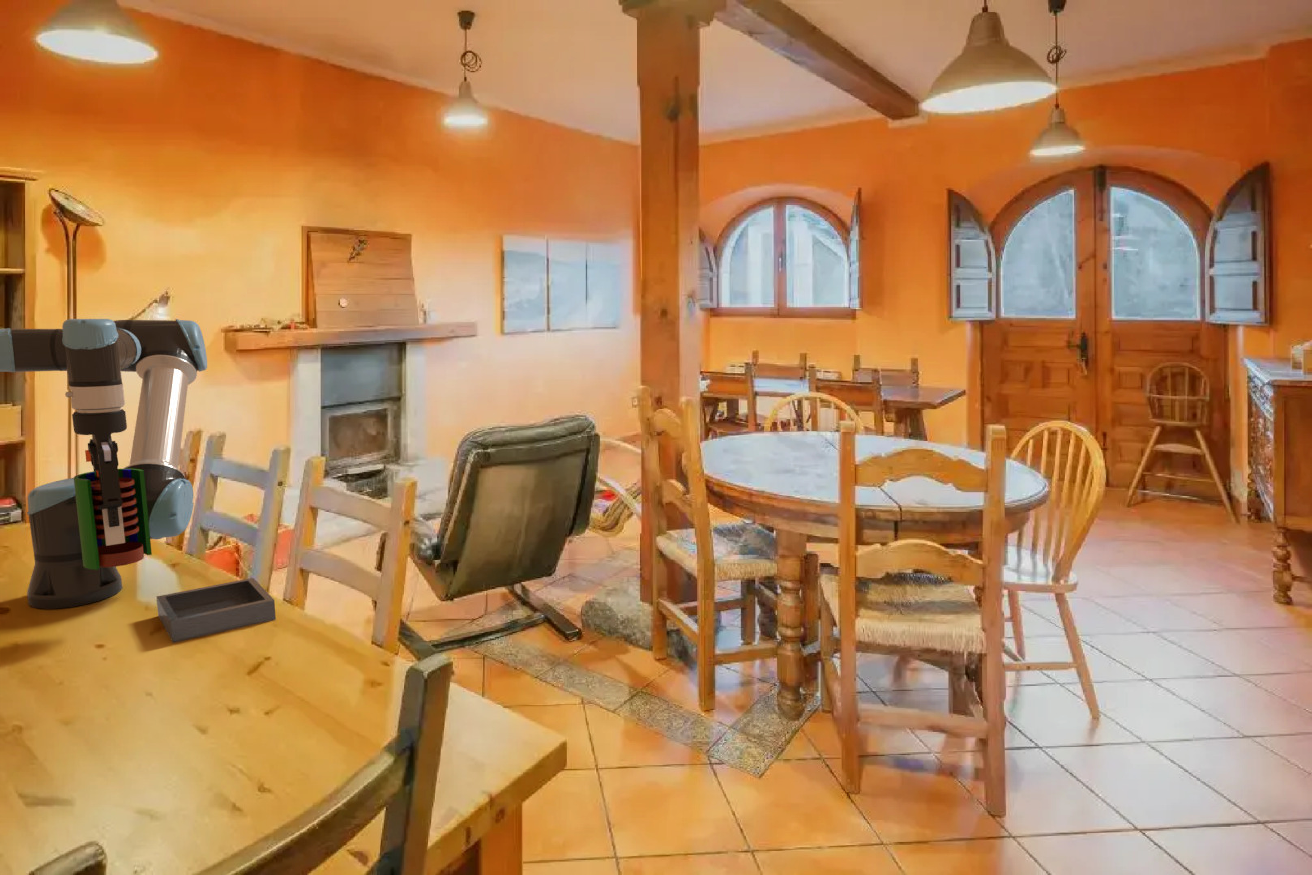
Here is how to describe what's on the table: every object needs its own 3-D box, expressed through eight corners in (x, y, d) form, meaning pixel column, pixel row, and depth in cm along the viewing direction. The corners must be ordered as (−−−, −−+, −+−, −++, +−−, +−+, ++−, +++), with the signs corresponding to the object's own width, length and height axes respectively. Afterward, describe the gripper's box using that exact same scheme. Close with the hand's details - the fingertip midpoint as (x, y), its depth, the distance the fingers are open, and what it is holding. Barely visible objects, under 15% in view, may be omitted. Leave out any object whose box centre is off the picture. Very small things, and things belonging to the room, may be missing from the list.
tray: (158, 615, 147) (156, 596, 146) (254, 595, 157) (253, 577, 156) (172, 642, 135) (170, 621, 134) (275, 619, 145) (274, 599, 145)
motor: (112, 571, 134) (98, 455, 131) (68, 568, 136) (53, 454, 133) (160, 553, 144) (148, 445, 141) (118, 550, 146) (106, 444, 143)
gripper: (67, 405, 140) (81, 529, 144) (76, 418, 125) (92, 556, 129) (117, 402, 145) (130, 522, 149) (132, 414, 130) (146, 548, 134)
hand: (113, 538), depth 139 cm, fingers closed on motor, 7 cm apart
